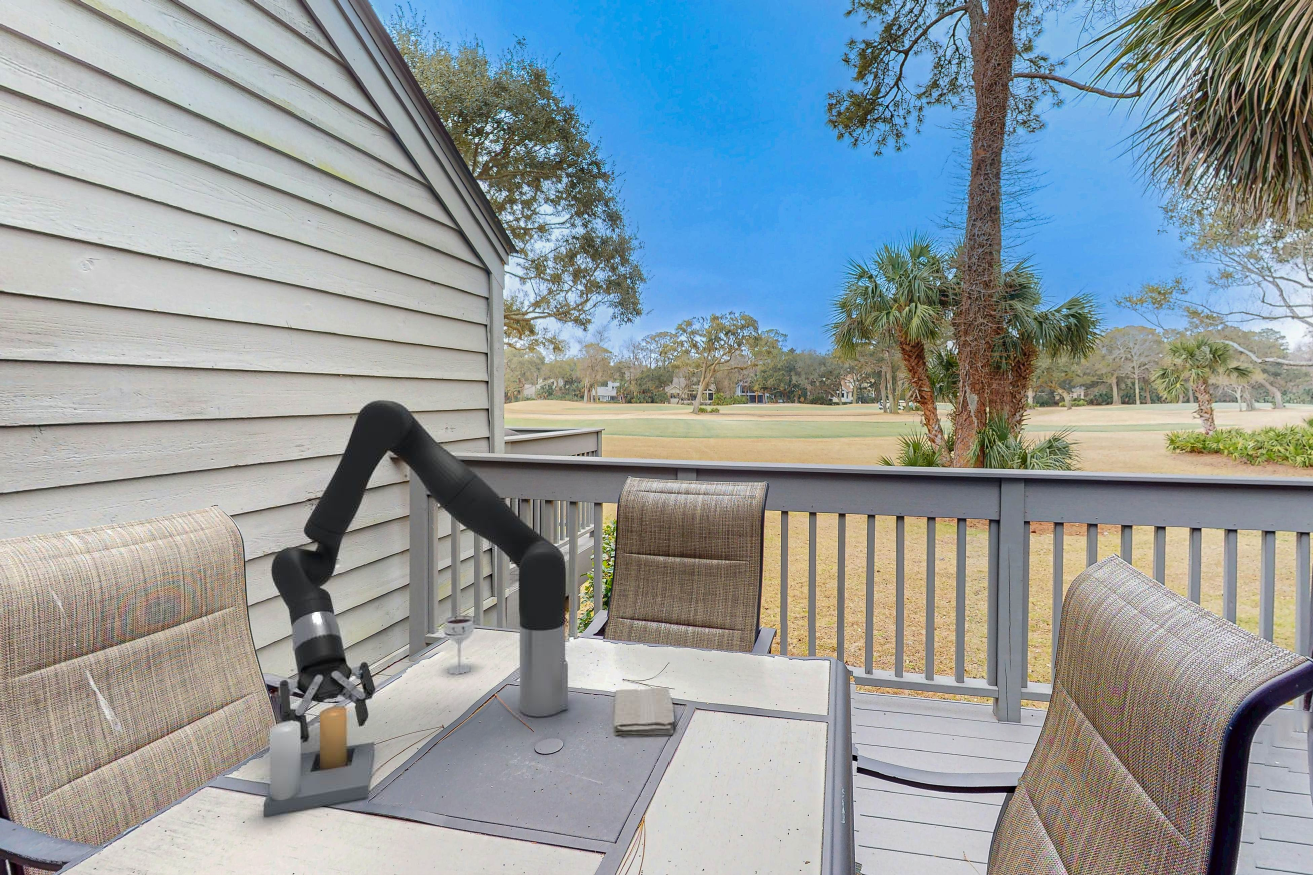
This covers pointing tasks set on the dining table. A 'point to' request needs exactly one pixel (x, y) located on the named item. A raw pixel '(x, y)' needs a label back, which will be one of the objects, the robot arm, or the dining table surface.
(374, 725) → the dining table surface
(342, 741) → the orange cylinder
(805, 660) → the dining table surface
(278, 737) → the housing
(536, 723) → the dining table surface
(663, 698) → the washcloth
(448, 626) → the wineglass
